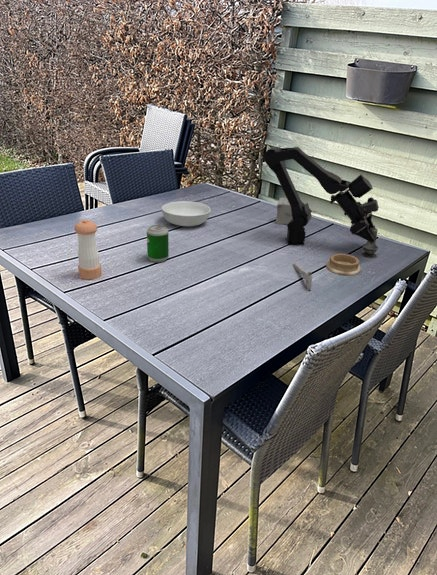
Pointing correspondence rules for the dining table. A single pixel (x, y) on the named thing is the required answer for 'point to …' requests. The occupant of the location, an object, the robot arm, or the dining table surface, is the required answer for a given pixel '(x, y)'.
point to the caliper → (304, 275)
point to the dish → (343, 264)
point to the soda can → (157, 243)
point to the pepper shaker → (87, 250)
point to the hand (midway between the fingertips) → (374, 237)
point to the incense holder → (283, 212)
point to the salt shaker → (370, 245)
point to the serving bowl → (186, 213)
